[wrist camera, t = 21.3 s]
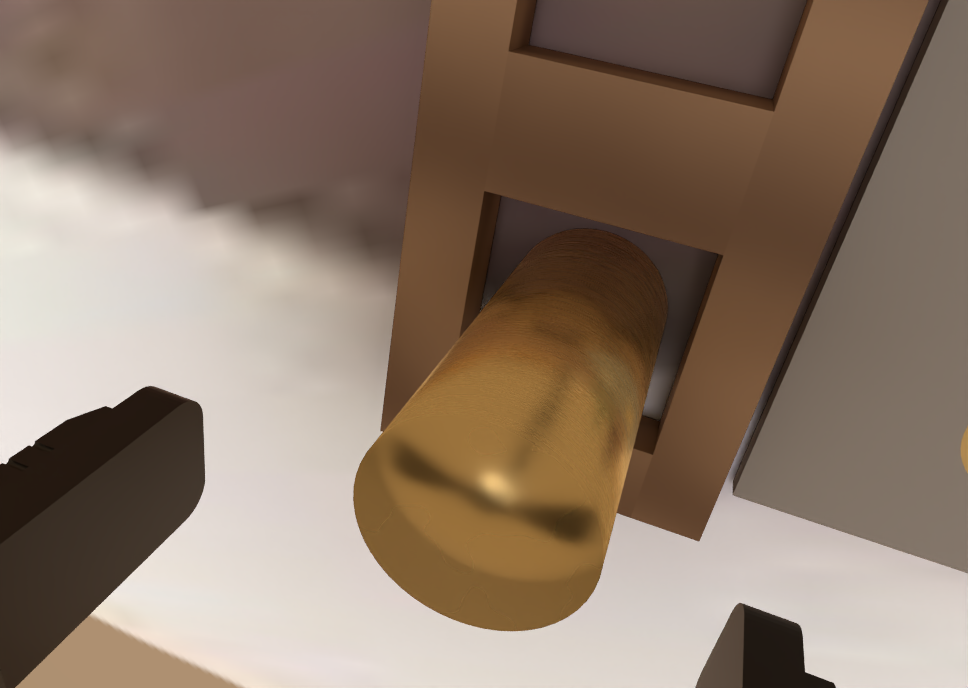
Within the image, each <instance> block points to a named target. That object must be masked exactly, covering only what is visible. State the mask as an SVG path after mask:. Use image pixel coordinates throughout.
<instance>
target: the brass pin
mask: <svg viewBox="0 0 968 688" xmlns="http://www.w3.org/2000/svg"><path fill="white" fill-rule="evenodd" d="M667 311H668V303H667V294H666V289H665V286H664V283H663V280H662V278H661V276H660V274H659V272H658V270H657V268H656V267H655V265H654V264H653V262H652V261H651V260H650V259H649V258H648V257H647V255H646V254H645V253H644V252H643V251H641V250H640V249H639V248H638V247H637V246H635V245H634V244H632V243H631V242H629V241H628V240H626V239H624V238H622V237H620V236H618V235H615V234H612V233H609V232H606V231H601V230H597V229H573V230H567V231H563V232H560V233H557V234H554V235H552V236H550V237H548V238H546V239H545V240H543V241H542V242H540V243H538V244H537V245H536V246H535V247H534V248H533V249H532V250H531V251H530V252H529V253H528V254H527V255H526V256H525V258H524V259H523V260H522V261H521V263H520V264H519V265H518V266H517V268H516V269H515V270H514V271H513V272H512V274H511V275H510V276H509V277H508V279H507V280H506V281H505V282H504V284H503V285H502V286H501V287H500V289H499V290H498V291H497V292H496V293H495V295H494V296H493V297H492V298H491V300H490V301H489V302H488V303H487V305H486V306H485V307H484V308H483V310H482V311H481V312H480V313H479V314H478V316H477V317H476V318H475V319H474V321H473V322H472V323H471V324H470V326H469V327H468V328H467V329H466V331H465V332H464V333H463V334H462V335H461V337H460V338H459V339H458V340H457V342H456V343H455V344H454V345H453V347H452V348H451V349H450V350H449V351H448V353H447V354H446V355H445V356H444V358H443V359H442V360H441V361H440V363H439V364H438V365H437V366H436V368H435V369H434V370H433V371H432V372H431V374H430V375H429V376H428V377H427V379H426V380H425V381H424V382H423V384H422V385H421V386H420V387H419V389H418V390H417V391H416V392H415V393H414V395H413V396H412V397H411V398H410V400H409V401H408V402H407V403H406V405H405V406H404V407H403V408H402V410H401V411H400V412H399V413H398V414H397V416H396V417H395V418H394V419H393V421H392V422H391V423H390V424H389V426H388V427H387V428H386V429H385V430H384V432H383V433H382V434H381V435H380V437H379V438H378V439H377V440H376V442H375V443H374V444H373V445H372V447H371V448H370V449H369V450H368V451H367V453H366V455H365V456H364V458H363V460H362V461H361V463H360V466H359V468H358V471H357V474H356V478H355V483H354V497H353V501H354V509H355V515H356V519H357V523H358V526H359V529H360V531H361V534H362V536H363V539H364V541H365V543H366V545H367V546H368V548H369V550H370V552H371V553H372V555H373V556H374V558H375V559H376V561H377V562H378V564H379V565H380V566H381V567H382V568H383V570H384V571H385V572H386V573H387V574H388V576H389V577H391V578H392V579H393V580H394V581H395V582H396V583H397V584H398V585H399V586H400V587H401V588H402V589H403V590H405V591H406V592H407V593H408V594H409V595H411V596H412V597H413V598H415V599H416V600H418V601H419V602H421V603H422V604H424V605H425V606H427V607H429V608H431V609H432V610H434V611H436V612H438V613H440V614H442V615H444V616H446V617H449V618H451V619H453V620H456V621H459V622H462V623H465V624H468V625H471V626H475V627H480V628H484V629H491V630H498V631H525V630H532V629H537V628H542V627H545V626H548V625H551V624H555V623H557V622H559V621H561V620H563V619H565V618H567V617H568V616H570V615H571V614H572V613H574V612H575V611H577V610H578V609H579V608H580V607H581V606H582V605H583V604H584V603H585V602H586V601H587V600H588V598H589V597H590V595H591V594H592V593H593V591H594V589H595V587H596V585H597V583H598V581H599V579H600V575H601V571H602V567H603V563H604V559H605V555H606V552H607V548H608V544H609V540H610V536H611V532H612V528H613V524H614V521H615V517H616V513H617V509H618V505H619V501H620V497H621V493H622V490H623V486H624V482H625V478H626V474H627V470H628V466H629V463H630V459H631V455H632V451H633V447H634V443H635V439H636V435H637V432H638V428H639V424H640V420H641V416H642V412H643V408H644V404H645V401H646V397H647V393H648V389H649V385H650V381H651V377H652V373H653V370H654V366H655V362H656V358H657V354H658V350H659V346H660V342H661V339H662V335H663V331H664V327H665V323H666V319H667Z"/></svg>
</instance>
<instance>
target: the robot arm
mask: <svg viewBox="0 0 968 688" xmlns="http://www.w3.org/2000/svg"><path fill="white" fill-rule="evenodd" d="M204 484H205V462H204V433H203V412H202V408H201V406H200V405H199V404H198V403H197V402H195V401H192V400H190V399H187V398H184V397H181V396H179V395H176V394H173V393H170V392H168V391H165V390H162V389H160V388H157V387H154V386H148V387H144V388H142V389H140V390H139V391H137V392H136V393H134V394H133V395H131V396H130V397H128V398H127V399H126V400H124V401H123V402H121V403H120V404H118V405H117V406H116V407H114V408H113V409H112V408H109V407H107V406H105V407H102V408H99V409H96V410H94V411H91V412H88V413H85V414H82V415H80V416H77V417H74V418H71V419H68V420H66V421H65V422H63V423H62V424H60V425H59V426H57V427H56V428H54V429H53V430H51V431H50V432H48V433H47V434H45V435H44V436H42V437H41V438H39V439H38V440H36V441H35V444H34V445H33V446H27V447H26V448H24V449H23V450H21V451H20V452H18V453H17V454H15V455H14V456H12V457H11V458H9V461H8V463H7V464H3V463H2V464H0V688H15V687H16V686H17V685H18V684H19V683H20V682H21V681H22V680H23V679H24V678H25V677H26V676H27V675H28V674H29V673H30V672H31V671H32V670H33V669H34V668H36V667H37V665H39V664H40V663H41V662H42V661H43V660H44V659H45V658H46V657H47V656H48V655H49V654H50V653H51V652H52V651H53V650H54V649H55V648H56V647H57V646H58V645H59V644H60V643H61V642H62V641H63V640H64V639H65V638H66V637H67V636H68V635H69V634H70V633H71V632H72V631H73V630H74V629H75V628H76V627H77V626H78V625H79V624H80V623H81V622H82V621H83V620H85V618H87V617H88V616H89V615H90V614H91V613H92V612H93V611H94V610H95V609H96V608H97V607H98V606H99V605H100V604H101V603H102V602H103V601H104V600H105V599H106V598H107V597H108V596H109V595H110V594H111V593H112V592H113V591H114V590H115V589H116V588H117V587H118V586H119V585H120V584H121V583H122V582H123V581H124V580H125V579H126V578H127V577H128V576H129V575H130V574H131V573H132V572H133V571H135V570H136V569H137V568H138V567H139V566H140V565H141V564H142V563H143V562H144V561H145V560H146V559H147V558H148V557H149V556H150V555H151V554H152V553H153V552H154V551H155V550H156V549H157V548H158V547H159V546H160V545H161V544H162V543H163V542H164V541H165V540H166V539H167V538H168V537H169V536H170V535H171V534H172V533H173V532H174V531H175V530H176V529H177V528H178V527H179V526H180V525H181V524H182V523H183V522H184V521H185V520H186V519H187V518H188V517H189V516H190V515H191V513H192V512H193V511H194V509H195V508H196V506H197V504H198V502H199V500H200V498H201V495H202V492H203V489H204ZM696 688H836V687H835V685H834V683H832V682H829V681H827V680H824V679H822V678H819V677H816V676H814V675H811V674H808V673H806V672H805V666H804V650H803V636H802V630H801V627H800V626H799V625H798V624H797V623H794V622H791V621H789V620H786V619H783V618H780V617H778V616H775V615H772V614H769V613H767V612H764V611H761V610H759V609H756V608H753V607H750V606H748V605H745V604H742V603H739V604H737V605H736V606H735V608H734V609H733V611H732V613H731V615H730V617H729V619H728V621H727V623H726V625H725V627H724V629H723V631H722V633H721V635H720V637H719V639H718V641H717V643H716V645H715V647H714V649H713V651H712V652H711V654H710V656H709V658H708V660H707V662H706V664H705V666H704V668H703V670H702V672H701V674H700V677H699V679H698V682H697V685H696Z"/></svg>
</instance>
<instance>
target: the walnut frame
mask: <svg viewBox="0 0 968 688" xmlns="http://www.w3.org/2000/svg"><path fill="white" fill-rule="evenodd" d="M928 1H929V0H807V3H806V6H805V9H804V11H803V14H802V17H801V20H800V23H799V26H798V29H797V31H796V34H795V37H794V40H793V43H792V46H791V49H790V51H789V54H788V57H787V60H786V63H785V66H784V69H783V71H782V74H781V77H780V80H779V83H778V86H777V89H776V91H775V94H774V97H773V100H772V99H768V98H763V97H759V96H755V95H750V94H746V93H741V92H737V91H732V90H728V89H723V88H719V87H714V86H710V85H705V84H701V83H697V82H692V81H688V80H683V79H679V78H674V77H670V76H665V75H661V74H656V73H652V72H648V71H643V70H639V69H634V68H630V67H625V66H621V65H616V64H612V63H607V62H603V61H599V60H594V59H590V58H585V57H581V56H576V55H572V54H567V53H563V52H558V51H554V50H549V49H545V48H541V47H536V46H532V45H529V40H530V34H531V29H532V23H533V18H534V13H535V7H536V2H537V0H432V1H431V10H430V18H429V26H428V35H427V43H426V52H425V60H424V68H423V77H422V85H421V94H420V102H419V111H418V119H417V127H416V136H415V144H414V153H413V161H412V169H411V178H410V186H409V195H408V203H407V211H406V220H405V228H404V237H403V245H402V254H401V262H400V270H399V279H398V287H397V296H396V304H395V312H394V321H393V329H392V338H391V346H390V355H389V363H388V371H387V380H386V388H385V397H384V405H383V413H382V422H381V430H380V431H383V432H384V430H385V429H386V428H387V427H388V426H389V424H390V423H391V422H392V421H393V419H394V418H395V417H396V416H397V414H398V413H399V412H400V411H401V410H402V408H403V407H404V406H405V405H406V403H407V402H408V401H409V400H410V398H411V397H412V396H413V395H414V393H415V392H416V391H417V390H418V389H419V387H420V386H421V385H422V384H423V382H424V381H425V380H426V379H427V377H428V376H429V375H430V374H431V372H432V371H433V370H434V369H435V368H436V366H437V365H438V364H439V363H440V361H441V360H442V359H443V358H444V356H445V355H446V354H447V353H448V351H449V350H450V349H451V348H452V347H453V345H454V344H455V343H456V342H457V340H458V339H459V338H460V337H461V335H462V334H463V333H464V332H465V331H466V329H467V328H468V327H469V326H470V324H471V323H472V322H473V321H474V319H475V318H476V317H477V316H478V314H479V312H480V307H481V301H482V296H483V291H484V285H485V280H486V274H487V269H488V263H489V258H490V252H491V247H492V241H493V236H494V231H495V225H496V220H497V214H498V209H499V203H500V198H501V196H505V197H509V198H512V199H516V200H520V201H524V202H527V203H531V204H535V205H538V206H542V207H546V208H550V209H553V210H557V211H561V212H564V213H568V214H572V215H576V216H579V217H583V218H587V219H591V220H594V221H598V222H602V223H605V224H609V225H613V226H617V227H620V228H624V229H628V230H631V231H635V232H639V233H643V234H646V235H650V236H654V237H657V238H661V239H665V240H669V241H672V242H676V243H680V244H684V245H687V246H691V247H695V248H698V249H702V250H706V251H710V252H713V253H717V254H718V257H717V260H716V263H715V266H714V269H713V272H712V274H711V277H710V280H709V283H708V286H707V289H706V292H705V294H704V297H703V300H702V303H701V306H700V309H699V312H698V314H697V317H696V320H695V323H694V326H693V329H692V332H691V334H690V337H689V340H688V343H687V346H686V349H685V352H684V354H683V357H682V360H681V363H680V366H679V369H678V372H677V374H676V377H675V380H674V383H673V386H672V389H671V392H670V394H669V397H668V400H667V403H666V406H665V409H664V412H663V414H662V417H661V420H660V421H657V420H654V419H651V418H648V417H644V416H641V420H640V424H639V428H638V432H637V435H636V439H635V443H634V447H633V451H632V455H631V459H630V463H629V466H628V470H627V474H626V478H625V482H624V486H623V490H622V493H621V497H620V501H619V505H618V509H617V513H619V514H621V515H624V516H627V517H630V518H633V519H636V520H639V521H642V522H644V523H647V524H650V525H653V526H656V527H659V528H662V529H665V530H668V531H670V532H673V533H676V534H679V535H682V536H685V537H688V538H691V539H693V540H696V541H700V538H701V536H702V534H703V531H704V529H705V527H706V524H707V522H708V519H709V517H710V515H711V512H712V510H713V508H714V505H715V503H716V501H717V498H718V496H719V494H720V491H721V489H722V487H723V484H724V482H725V479H726V477H727V475H728V472H729V470H730V468H731V465H732V463H733V461H734V458H735V456H736V454H737V451H738V449H739V446H740V444H741V442H742V439H743V437H744V435H745V432H746V430H747V428H748V425H749V423H750V421H751V418H752V416H753V413H754V411H755V409H756V406H757V404H758V402H759V399H760V397H761V395H762V392H763V390H764V388H765V385H766V383H767V381H768V378H769V376H770V373H771V371H772V369H773V366H774V364H775V362H776V359H777V357H778V355H779V352H780V350H781V348H782V345H783V343H784V340H785V338H786V336H787V333H788V331H789V329H790V326H791V324H792V322H793V319H794V317H795V315H796V312H797V310H798V307H799V305H800V303H801V300H802V298H803V296H804V293H805V291H806V289H807V286H808V284H809V282H810V279H811V277H812V275H813V272H814V270H815V267H816V265H817V263H818V260H819V258H820V256H821V253H822V251H823V249H824V246H825V244H826V242H827V239H828V237H829V234H830V232H831V230H832V227H833V225H834V223H835V220H836V218H837V216H838V213H839V211H840V209H841V206H842V204H843V201H844V199H845V197H846V194H847V192H848V190H849V187H850V185H851V183H852V180H853V178H854V176H855V173H856V171H857V169H858V166H859V164H860V161H861V159H862V157H863V154H864V152H865V150H866V147H867V145H868V143H869V140H870V138H871V136H872V133H873V131H874V128H875V126H876V124H877V121H878V119H879V117H880V114H881V112H882V110H883V107H884V105H885V103H886V100H887V98H888V95H889V93H890V91H891V88H892V86H893V84H894V81H895V79H896V77H897V74H898V72H899V70H900V67H901V65H902V63H903V60H904V58H905V55H906V53H907V51H908V48H909V46H910V44H911V41H912V39H913V37H914V34H915V32H916V30H917V27H918V25H919V22H920V20H921V18H922V15H923V13H924V11H925V8H926V6H927V4H928Z"/></svg>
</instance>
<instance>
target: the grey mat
mask: <svg viewBox="0 0 968 688" xmlns="http://www.w3.org/2000/svg"><path fill="white" fill-rule="evenodd" d="M733 495H734V496H737V497H740V498H743V499H746V500H749V501H752V502H755V503H758V504H761V505H764V506H767V507H770V508H773V509H776V510H779V511H782V512H785V513H788V514H791V515H794V516H797V517H800V518H803V519H806V520H809V521H812V522H815V523H818V524H821V525H824V526H827V527H830V528H833V529H836V530H839V531H842V532H845V533H848V534H851V535H854V536H857V537H860V538H863V539H866V540H869V541H872V542H875V543H878V544H881V545H884V546H887V547H890V548H893V549H896V550H899V551H902V552H905V553H908V554H912V555H915V556H918V557H921V558H924V559H927V560H930V561H933V562H936V563H939V564H942V565H945V566H948V567H951V568H954V569H957V570H960V571H963V572H966V573H968V0H941V2H940V4H939V6H938V9H937V11H936V13H935V16H934V18H933V20H932V22H931V25H930V27H929V29H928V32H927V34H926V36H925V39H924V41H923V43H922V46H921V48H920V50H919V53H918V55H917V57H916V60H915V62H914V64H913V66H912V69H911V71H910V73H909V76H908V78H907V80H906V83H905V85H904V87H903V90H902V92H901V94H900V97H899V99H898V101H897V103H896V106H895V108H894V110H893V113H892V115H891V117H890V120H889V122H888V124H887V127H886V129H885V131H884V134H883V136H882V138H881V141H880V143H879V145H878V147H877V150H876V152H875V154H874V157H873V159H872V161H871V164H870V166H869V168H868V171H867V173H866V175H865V178H864V180H863V182H862V184H861V187H860V189H859V191H858V194H857V196H856V198H855V201H854V203H853V205H852V208H851V210H850V212H849V215H848V217H847V219H846V222H845V224H844V226H843V228H842V231H841V233H840V235H839V238H838V240H837V242H836V245H835V247H834V249H833V252H832V254H831V256H830V259H829V261H828V263H827V266H826V268H825V270H824V272H823V275H822V277H821V279H820V282H819V284H818V286H817V289H816V291H815V293H814V296H813V298H812V300H811V303H810V305H809V307H808V309H807V312H806V314H805V316H804V319H803V321H802V323H801V326H800V328H799V330H798V333H797V335H796V337H795V340H794V342H793V344H792V347H791V349H790V351H789V353H788V356H787V358H786V360H785V363H784V365H783V367H782V370H781V372H780V374H779V377H778V379H777V381H776V384H775V386H774V388H773V391H772V393H771V395H770V397H769V400H768V402H767V404H766V407H765V409H764V411H763V414H762V416H761V418H760V421H759V423H758V425H757V428H756V430H755V432H754V434H753V437H752V439H751V441H750V444H749V446H748V448H747V451H746V453H745V455H744V458H743V460H742V462H741V465H740V467H739V469H738V472H737V474H736V476H735V478H734V481H733Z"/></svg>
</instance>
